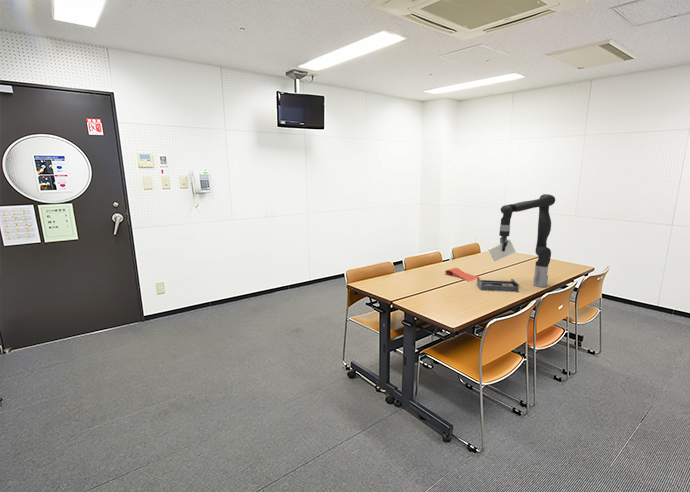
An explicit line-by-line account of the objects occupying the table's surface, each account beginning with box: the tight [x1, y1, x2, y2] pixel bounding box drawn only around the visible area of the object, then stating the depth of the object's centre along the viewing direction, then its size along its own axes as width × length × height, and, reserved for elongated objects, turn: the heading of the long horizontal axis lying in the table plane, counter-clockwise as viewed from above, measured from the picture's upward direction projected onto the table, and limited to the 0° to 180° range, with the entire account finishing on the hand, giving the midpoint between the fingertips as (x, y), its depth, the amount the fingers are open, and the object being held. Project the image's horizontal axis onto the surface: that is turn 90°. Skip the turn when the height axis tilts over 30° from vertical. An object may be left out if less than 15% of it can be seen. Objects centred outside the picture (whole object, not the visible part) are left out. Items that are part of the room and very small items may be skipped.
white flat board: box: [488, 239, 517, 262], centre depth 286 cm, size 18×2×11 cm, turn 82°
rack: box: [476, 278, 520, 293], centre depth 282 cm, size 28×15×6 cm, turn 82°
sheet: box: [444, 267, 481, 283], centre depth 315 cm, size 6×30×24 cm
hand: (502, 250), depth 286 cm, fingers closed on white flat board, 2 cm apart
